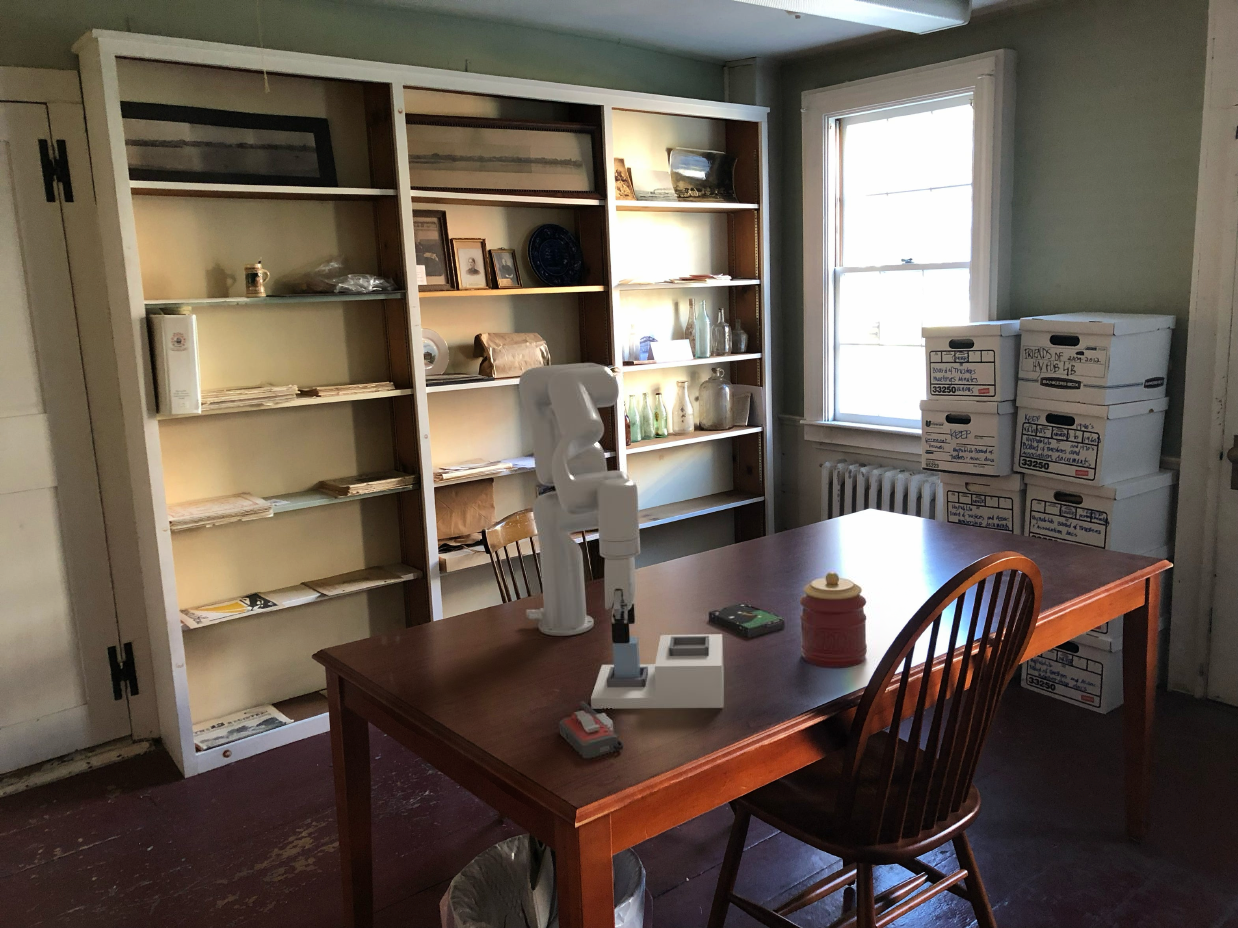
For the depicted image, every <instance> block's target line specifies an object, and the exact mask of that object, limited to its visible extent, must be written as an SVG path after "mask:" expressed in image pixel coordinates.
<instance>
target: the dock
mask: <svg viewBox="0 0 1238 928" xmlns="http://www.w3.org/2000/svg"><path fill="white" fill-rule="evenodd" d="M723 644H724V643H723V634H722V633H719V634H716V633H715V634H714V633H710V634H706V633H705V634H660V637H659V643H658V647H657V652H656V657H655V662H654V663H653V664H651V663H649V664H647V663H645V664H642V663H640V678H615V675H614V664H601V667H600V669H599V673H598V675H597V678H596V681H595V685H594V687H593V688H594V689H593V691H592V694H591V695H590V696H591V697H590V707H591V708H592V709H593V710H594V709H596V710H597V709H601V710H602V709H603V708H604V709H606V708H608V709H610V708H612V709H724V694H725V693H724V691H725V690H724V689H725V687H724V685H725V683H724V682H725V681H724V680H725V669H724V666H725V665H724V648H723Z"/></svg>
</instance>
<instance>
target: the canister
mask: <svg viewBox="0 0 1238 928" xmlns="http://www.w3.org/2000/svg"><path fill="white" fill-rule="evenodd" d="M862 591H863V589H862V587H861V586H859V585H858V584H856V583H855V582H854V581H852V580H851V579H849V578H848V579H847V578H843V577H839V574H838V573H837V572H835V571H829V572H827V573H826V575H825V577H821V578H816V579H814V580H812V581H810V583H808V584H806V585H805V586H803V592H804V593H805V594H803V595H802V596H800V599H799V604H800V605H801V606H802V612H800V615H799V618H800V626H801V627H800V633H801V634H800V636H801V643H800V651H801V654H802V658H803V659H804V660H805V661H807V662H808V663H809V664H811V665H812V664H813V665H815V666H817V667H818V666H820V667H824V668H825V667H826V668H847V667H853V666H856V665H859V664H861V663H862V662H864V660H866V657H867V656H866V655H867V653H868V652H867V651H868V650H867V648H868V645H867V638H866V637H867V634H866V626H867V625H866V620H867V615H866V614H865V611H864V610H865V609H864V606H866V604H867V600H866V598H865V597H864V596H863V595H861V593H862Z"/></svg>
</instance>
